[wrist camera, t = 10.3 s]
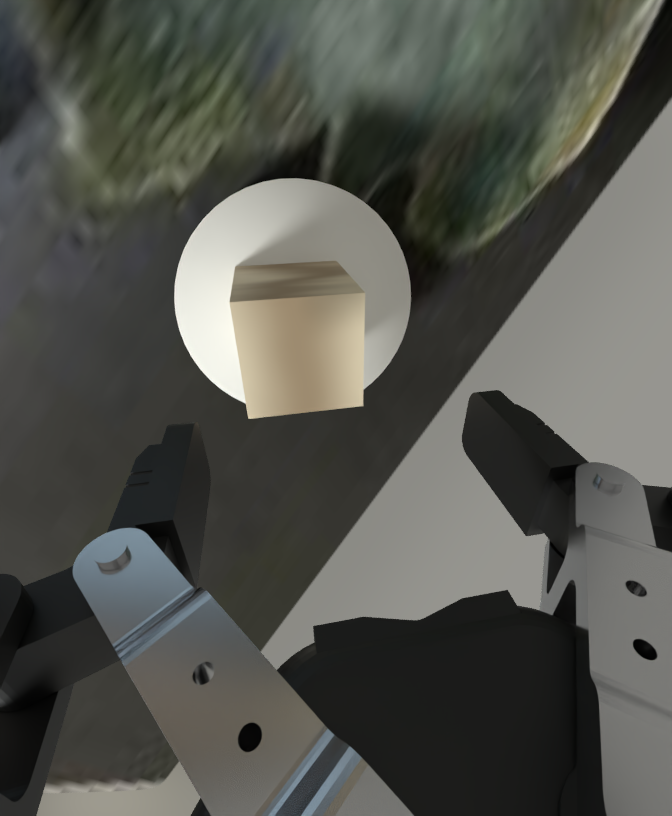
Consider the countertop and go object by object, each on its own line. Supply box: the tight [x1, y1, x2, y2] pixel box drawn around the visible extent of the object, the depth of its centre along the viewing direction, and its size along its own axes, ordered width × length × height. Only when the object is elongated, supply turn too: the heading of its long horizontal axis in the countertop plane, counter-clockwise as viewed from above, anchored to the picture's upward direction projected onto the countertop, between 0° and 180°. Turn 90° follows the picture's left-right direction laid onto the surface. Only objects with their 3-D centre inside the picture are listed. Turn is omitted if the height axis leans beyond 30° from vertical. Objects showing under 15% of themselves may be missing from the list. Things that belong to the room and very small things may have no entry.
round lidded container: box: [174, 178, 411, 403], centre depth 24 cm, size 12×12×7 cm
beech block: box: [229, 261, 365, 419], centre depth 18 cm, size 5×5×6 cm
